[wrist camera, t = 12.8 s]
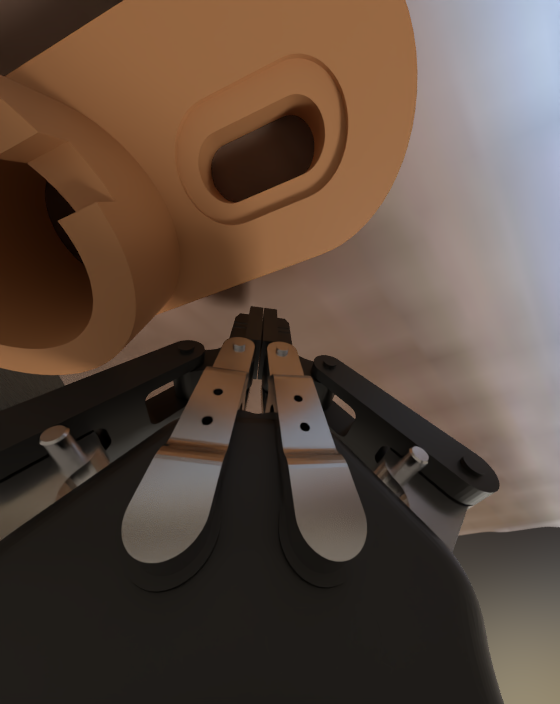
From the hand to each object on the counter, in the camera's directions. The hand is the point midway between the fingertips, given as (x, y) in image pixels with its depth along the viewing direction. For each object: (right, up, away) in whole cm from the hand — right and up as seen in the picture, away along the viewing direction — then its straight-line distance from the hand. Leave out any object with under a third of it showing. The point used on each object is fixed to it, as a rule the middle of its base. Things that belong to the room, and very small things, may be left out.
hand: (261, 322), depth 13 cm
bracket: (-3, +6, -2) cm, 7 cm away
